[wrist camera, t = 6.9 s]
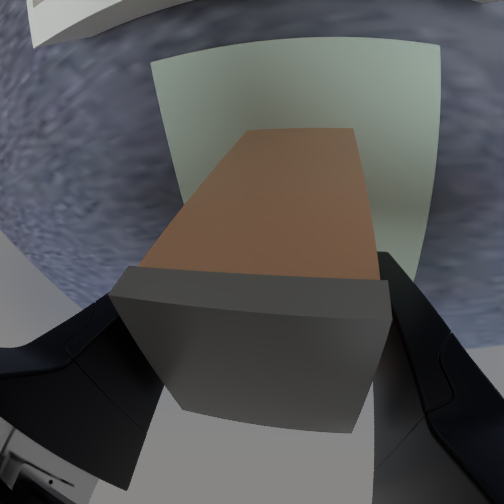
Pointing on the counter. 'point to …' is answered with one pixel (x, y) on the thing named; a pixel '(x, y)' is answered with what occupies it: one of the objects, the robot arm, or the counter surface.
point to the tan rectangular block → (267, 286)
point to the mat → (316, 115)
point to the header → (90, 17)
